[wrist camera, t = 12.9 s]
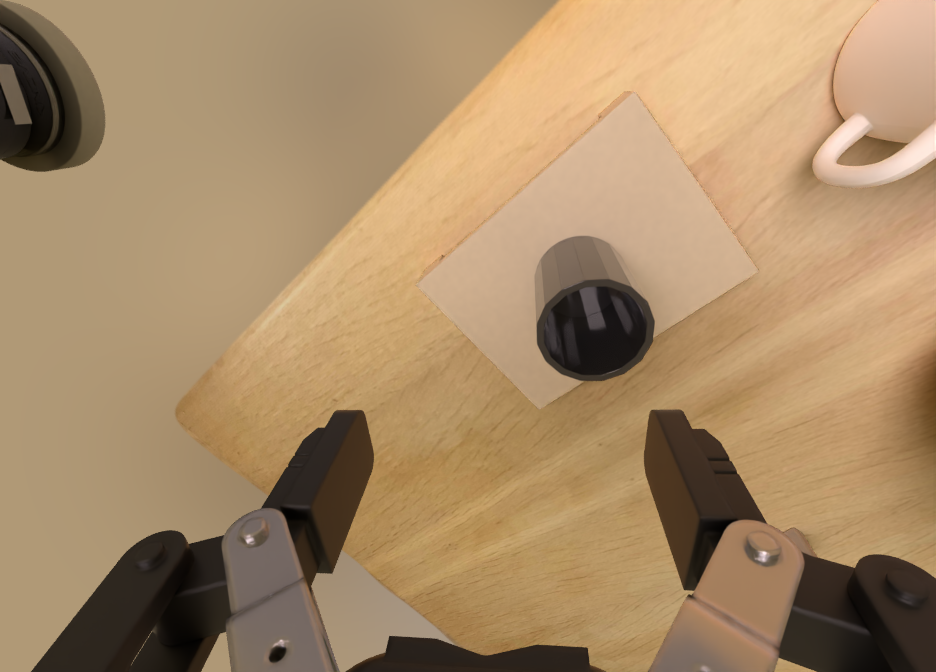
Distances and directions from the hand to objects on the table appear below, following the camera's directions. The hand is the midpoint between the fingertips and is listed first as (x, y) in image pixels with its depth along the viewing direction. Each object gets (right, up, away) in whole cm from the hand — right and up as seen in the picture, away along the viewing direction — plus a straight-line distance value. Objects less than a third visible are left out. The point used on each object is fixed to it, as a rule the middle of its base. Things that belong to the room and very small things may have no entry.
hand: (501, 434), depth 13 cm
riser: (+7, +8, +21) cm, 23 cm away
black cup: (+7, +7, +18) cm, 20 cm away
